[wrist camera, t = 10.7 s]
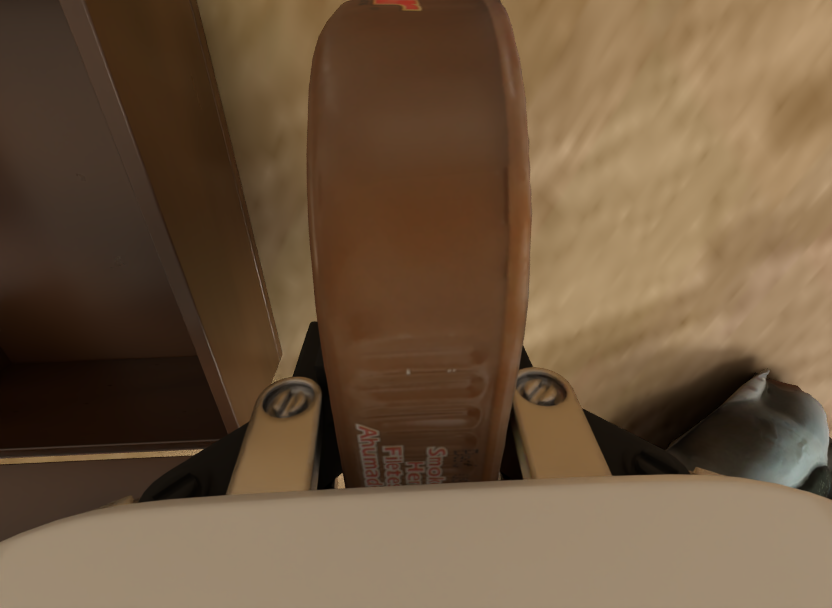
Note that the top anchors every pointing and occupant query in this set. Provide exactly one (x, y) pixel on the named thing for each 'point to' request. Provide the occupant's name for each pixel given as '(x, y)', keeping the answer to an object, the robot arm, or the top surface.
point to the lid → (71, 488)
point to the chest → (122, 236)
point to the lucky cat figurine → (763, 438)
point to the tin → (419, 235)
